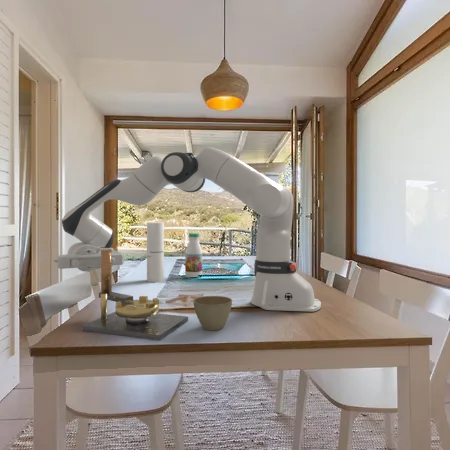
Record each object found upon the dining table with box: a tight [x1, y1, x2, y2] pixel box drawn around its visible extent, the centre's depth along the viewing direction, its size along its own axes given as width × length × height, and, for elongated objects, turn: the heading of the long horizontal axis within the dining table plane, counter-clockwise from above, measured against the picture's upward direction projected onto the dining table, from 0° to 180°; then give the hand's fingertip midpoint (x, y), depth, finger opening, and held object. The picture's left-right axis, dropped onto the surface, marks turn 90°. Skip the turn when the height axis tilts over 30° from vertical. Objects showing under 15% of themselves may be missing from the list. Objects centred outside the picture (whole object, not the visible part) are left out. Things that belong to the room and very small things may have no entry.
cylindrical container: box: [146, 221, 165, 283], centre depth 157 cm, size 7×7×25 cm
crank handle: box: [98, 249, 160, 318], centre depth 98 cm, size 20×11×15 cm, turn 54°
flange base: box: [82, 293, 189, 341], centre depth 96 cm, size 22×16×8 cm
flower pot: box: [192, 295, 233, 331], centre depth 94 cm, size 10×10×7 cm
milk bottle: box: [184, 232, 203, 278], centre depth 167 cm, size 8×8×20 cm
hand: (96, 263), depth 112 cm, fingers open, 8 cm apart
